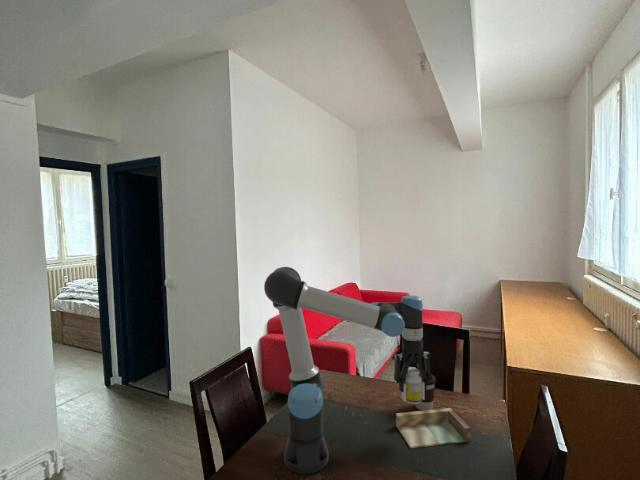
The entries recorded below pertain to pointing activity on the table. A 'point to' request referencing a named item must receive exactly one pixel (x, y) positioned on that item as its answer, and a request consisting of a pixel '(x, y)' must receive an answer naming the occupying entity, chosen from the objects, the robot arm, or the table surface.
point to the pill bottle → (413, 386)
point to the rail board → (432, 427)
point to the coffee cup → (428, 395)
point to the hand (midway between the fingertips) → (412, 398)
